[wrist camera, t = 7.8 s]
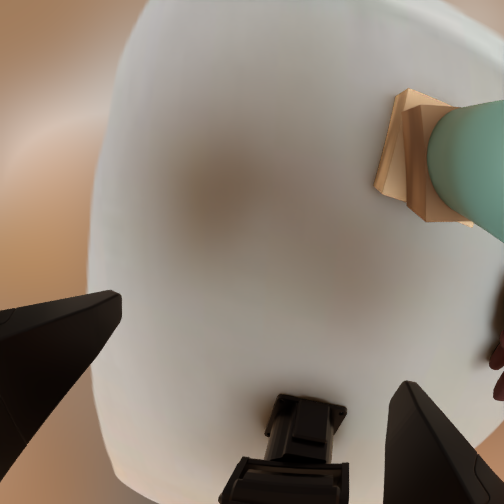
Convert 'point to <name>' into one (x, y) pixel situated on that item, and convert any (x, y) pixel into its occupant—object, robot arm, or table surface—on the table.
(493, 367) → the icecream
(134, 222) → the table surface
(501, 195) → the sage green cylinder
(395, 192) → the tower base
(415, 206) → the tower top
